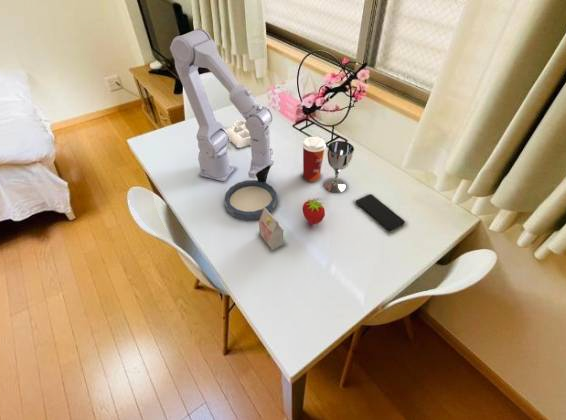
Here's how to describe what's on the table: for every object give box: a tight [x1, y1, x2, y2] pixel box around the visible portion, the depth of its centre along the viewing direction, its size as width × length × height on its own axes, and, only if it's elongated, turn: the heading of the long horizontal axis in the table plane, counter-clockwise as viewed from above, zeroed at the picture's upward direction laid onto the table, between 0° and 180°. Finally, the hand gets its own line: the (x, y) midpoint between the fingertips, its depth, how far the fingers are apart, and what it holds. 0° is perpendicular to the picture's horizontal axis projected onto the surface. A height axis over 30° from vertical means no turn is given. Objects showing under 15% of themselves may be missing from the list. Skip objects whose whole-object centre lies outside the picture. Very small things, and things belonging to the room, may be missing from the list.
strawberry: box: [301, 198, 326, 226], centre depth 87 cm, size 6×8×10 cm
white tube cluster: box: [225, 119, 251, 149], centre depth 124 cm, size 3×18×15 cm
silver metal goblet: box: [324, 140, 355, 194], centre depth 98 cm, size 8×8×15 cm
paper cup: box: [301, 136, 327, 182], centre depth 102 cm, size 8×8×14 cm
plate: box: [224, 179, 277, 221], centre depth 96 cm, size 16×16×3 cm
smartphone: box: [355, 194, 406, 232], centre depth 94 cm, size 7×1×15 cm
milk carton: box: [258, 207, 284, 251], centre depth 82 cm, size 4×7×10 cm, turn 33°
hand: (262, 182), depth 102 cm, fingers closed
